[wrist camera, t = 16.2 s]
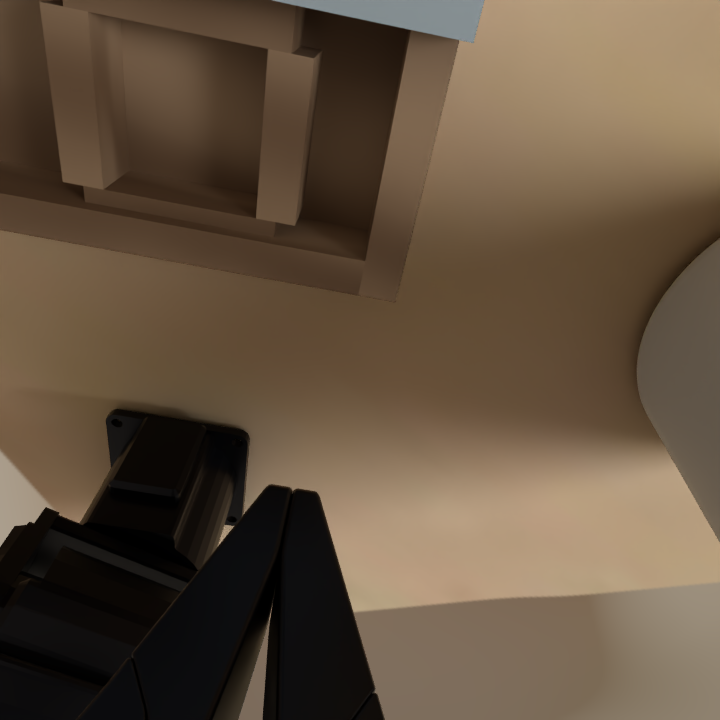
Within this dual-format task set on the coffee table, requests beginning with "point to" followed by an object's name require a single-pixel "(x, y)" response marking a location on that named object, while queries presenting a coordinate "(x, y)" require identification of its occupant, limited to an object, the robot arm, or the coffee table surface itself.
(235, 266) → the brown open tray
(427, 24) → the grey plate with hole
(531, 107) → the coffee table surface
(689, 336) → the cylinder vase
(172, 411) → the coffee table surface
